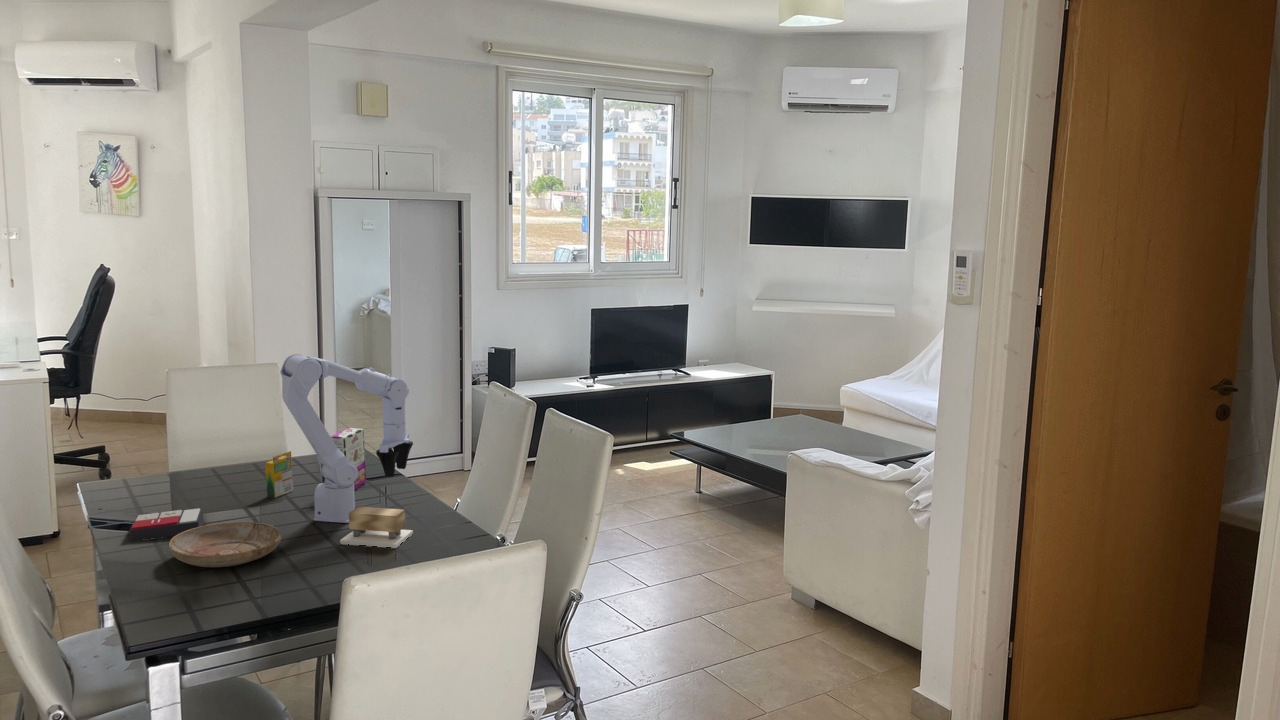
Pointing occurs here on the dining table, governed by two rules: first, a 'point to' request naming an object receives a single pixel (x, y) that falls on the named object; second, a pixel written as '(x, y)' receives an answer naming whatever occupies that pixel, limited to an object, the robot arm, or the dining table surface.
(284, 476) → the crayon box
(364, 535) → the peg stand
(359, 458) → the candy bar box
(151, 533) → the black box with panels
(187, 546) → the ceramic bowl
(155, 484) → the dining table surface
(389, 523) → the tan rectangular block
